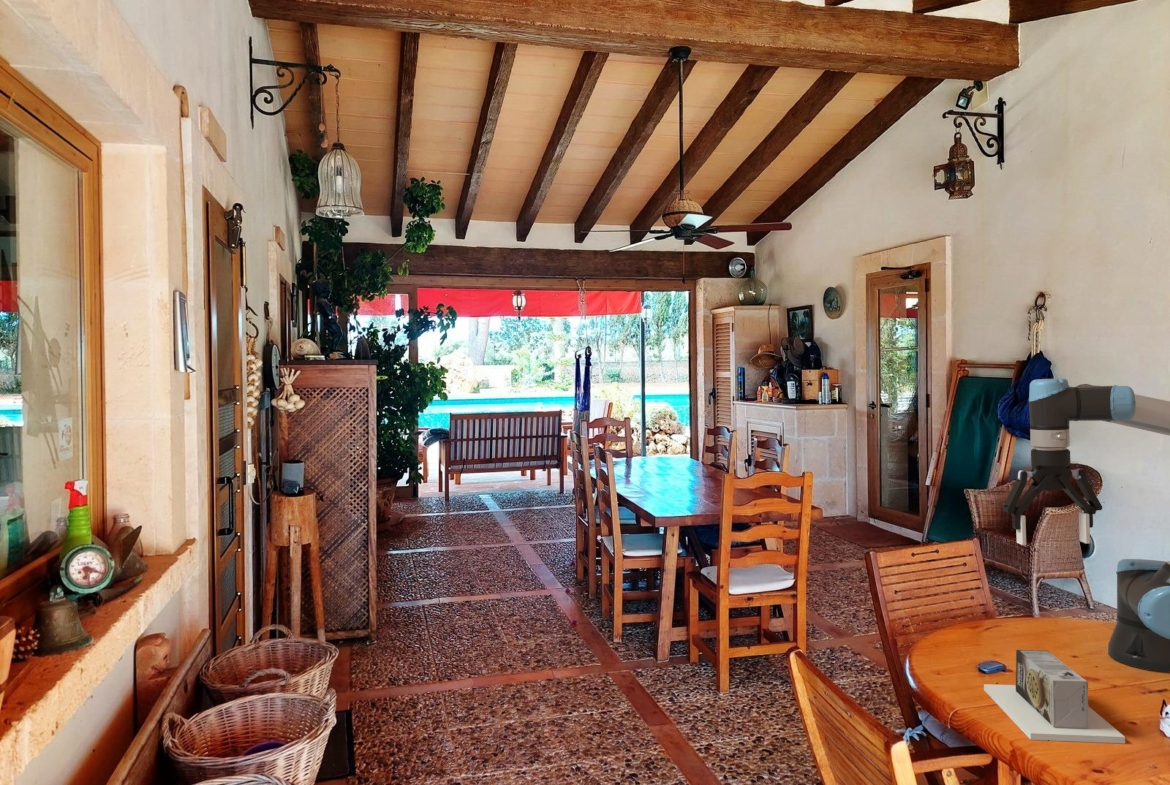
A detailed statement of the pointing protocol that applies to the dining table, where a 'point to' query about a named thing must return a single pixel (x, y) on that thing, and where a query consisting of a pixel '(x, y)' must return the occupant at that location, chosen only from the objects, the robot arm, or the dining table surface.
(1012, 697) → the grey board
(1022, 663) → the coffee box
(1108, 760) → the dining table surface
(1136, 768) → the dining table surface
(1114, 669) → the dining table surface
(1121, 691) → the dining table surface
